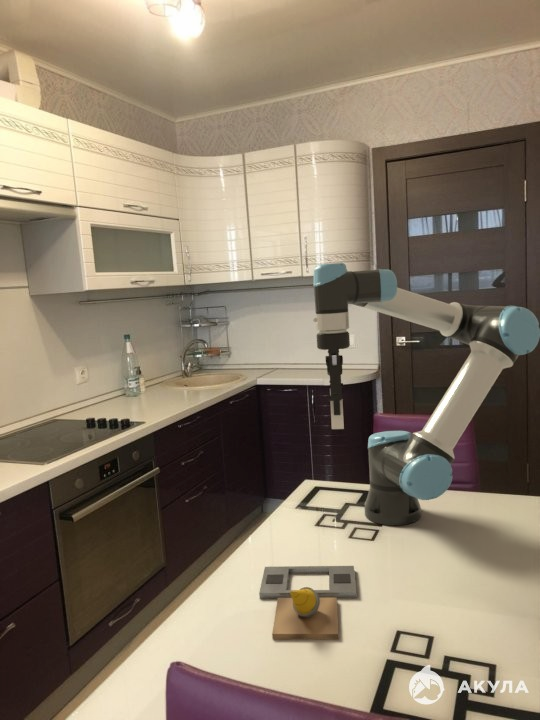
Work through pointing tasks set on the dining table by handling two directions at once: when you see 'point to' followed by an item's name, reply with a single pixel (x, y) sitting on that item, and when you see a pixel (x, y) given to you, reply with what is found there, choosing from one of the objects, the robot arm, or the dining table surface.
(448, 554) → the dining table surface
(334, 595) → the grey rectangular frame
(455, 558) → the dining table surface
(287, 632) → the pad
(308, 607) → the yellow knob cap
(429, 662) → the dining table surface
